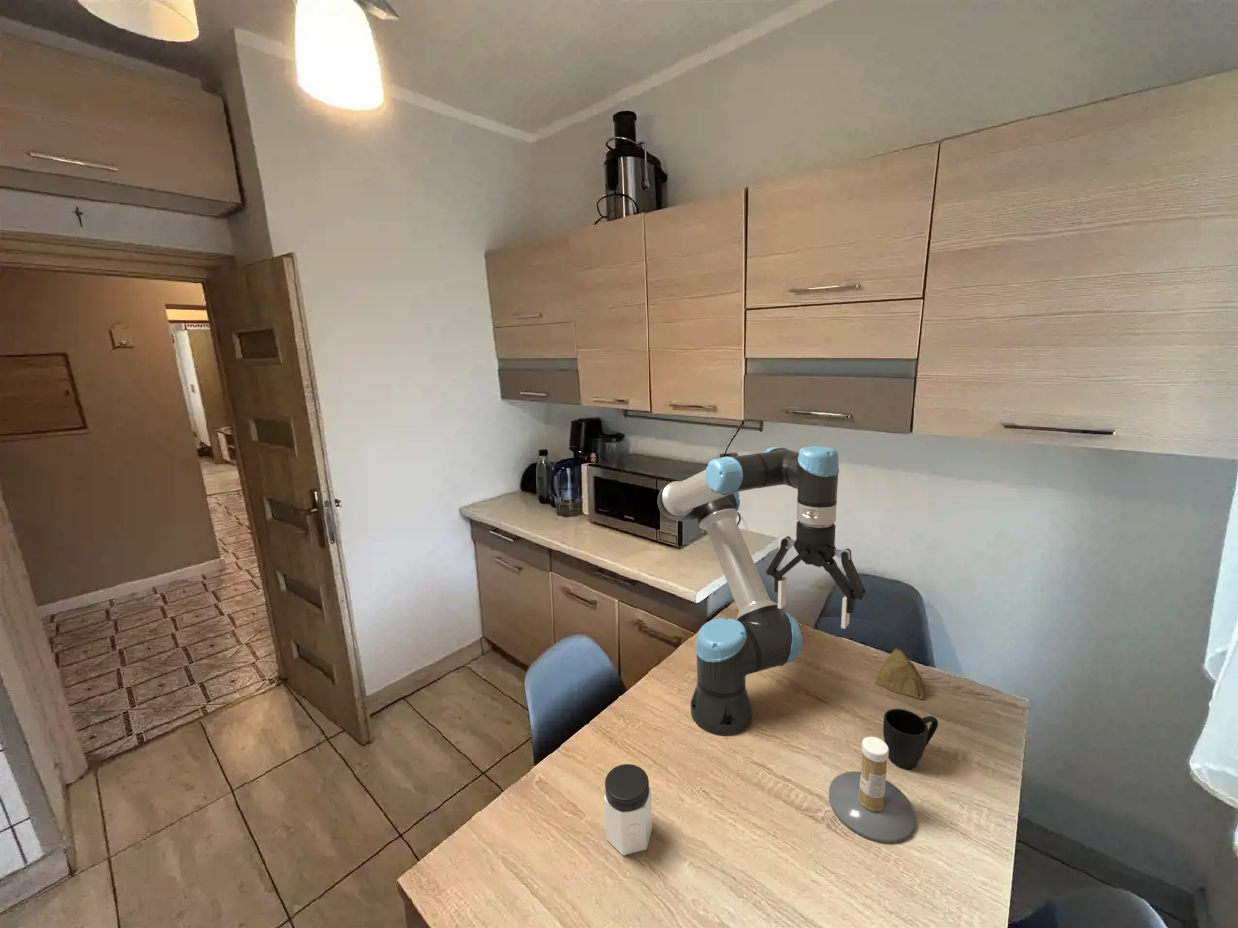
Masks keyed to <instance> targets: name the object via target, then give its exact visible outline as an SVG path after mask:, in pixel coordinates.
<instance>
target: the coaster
mask: <svg viewBox="0 0 1238 928" xmlns="http://www.w3.org/2000/svg"><path fill="white" fill-rule="evenodd" d="M860 775H861V771H855V770H854V771H846V772H842V773H840V774H838V775H837V776H836V777H834V778H833V780H832V781H831V783H830V785H829V790H828V801H829V805H830V807H831V809H832V811H833V813H834V815H835V816H836V817H837V819H838V821H840V822H841V823H842V825H844V826H845V827H846V828H847V829H849V830H850V831H851V832H853V833H854V834H856V835H858V836H860V837H862V838H864V839H866V840H868V841H873V842H874V843H879V844H897V843H901V842H903V841H905V840H907V839H908V838H909V837H910V836H911V835H912V834H913V832H914V829H915V825H916V823H915V822H916V814H915V810H914V808H913V806H912V803H911V802H910V801H909V799H908V798H907V796H906V795H905V794H904V793H903V792H902V790H900V789H899V788H898V787H897V786H895V784H893V783H892V782H890V781H888V780H887V779H886V783H885V793H884V800H883V802H884V807H883V809H882V810H881V811H879V812H873V811H870V810H867V809H866V808H864V807H863V806H862V805H861V803H860V802H859V799H858V795H859V791H860Z"/></svg>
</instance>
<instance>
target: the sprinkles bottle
mask: <svg viewBox="0 0 1238 928" xmlns="http://www.w3.org/2000/svg"><path fill="white" fill-rule="evenodd" d="M861 754H862V755H861V765H860V772H861V775H860V791H859V795H858V799H859V802H860V803H861V805H862V806H863V807H864V808H866V809H867V810H870V811H873V812H879V811H881V810H882V809H883V807H884V802H883V800H884V793H885V783H886V780H887V768H888V767H887V766H888V765H887V762H888V760H889V758H888V756H889V748H888V746H887V744H886V743H885V742H884V740H882V739H881V738H879V737H875V736H866V737H864V738H863V739H862V741H861Z"/></svg>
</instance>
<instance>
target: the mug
mask: <svg viewBox="0 0 1238 928" xmlns="http://www.w3.org/2000/svg"><path fill="white" fill-rule="evenodd" d="M929 723H930V725H929V727H928V724H929ZM882 724H883V726H882V732H883V741H884V742H885V743H886V744H887V746H888V748H889V756H888V760H889V761H890V762H891V763H892V764H893V765H894V766H896V767H898V768H900V769H903V770H909V771H910V770H914V769H916V767H917V766H918V763H919V762H920V760H921V758H922V757H923V754H924V753H925V750H926V747H927V745H928V744H929V743H930V741H931V740H932V738H933V736H934V735H935V733H936V731H937V729H938V727H939V722H938V719H937V717H935V716H934V715H933V716H932V715H929V716H928V715H927V716H924V717H921V716H920V715H918V714H916V713H914V712H912V711H910V710H906V709H904V708H891V709H888V710H887V711H885V713H884V715H883V723H882Z"/></svg>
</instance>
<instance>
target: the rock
mask: <svg viewBox="0 0 1238 928" xmlns="http://www.w3.org/2000/svg"><path fill="white" fill-rule="evenodd" d="M875 679H876V680H875V681H874V684H875V685H879V686H881V687H883V688H885V689H886V690H889V691H892V692H895V693H898V694H903V695H906V696H910V697H914V698H917V699H919V700H920V699H921V700H924V699H926V696H927V691H926V685H925V684H924V682H923V677H921V674H920V673H919V672H918V670H917V667H916V666H915V665H914V663H912V662H911V660H910V659H909V658H908V657H907V655H906V654H905V653H904V651H902V650H901V649H899V648H897V647H896V648H894V649H893V650H892V652H891V653H890V654H889V656H888V657H887V659H886V661H885V662H884V664H883V665H882V667H881V668H880V669H879V672H878V675H877V677H876V678H875Z"/></svg>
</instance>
